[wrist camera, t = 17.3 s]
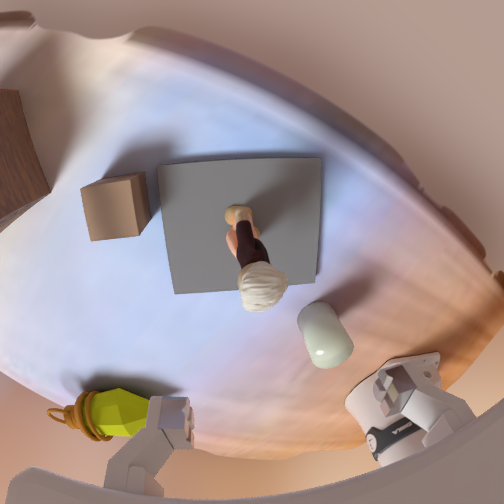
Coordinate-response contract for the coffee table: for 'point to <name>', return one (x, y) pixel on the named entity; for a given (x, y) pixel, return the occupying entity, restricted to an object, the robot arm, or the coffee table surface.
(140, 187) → the walnut block
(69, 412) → the plumb bob
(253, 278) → the grandmother figurine
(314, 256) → the slate mat
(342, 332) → the sage green capsule
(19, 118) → the tissue box cover
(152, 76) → the coffee table surface
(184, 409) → the robot arm
